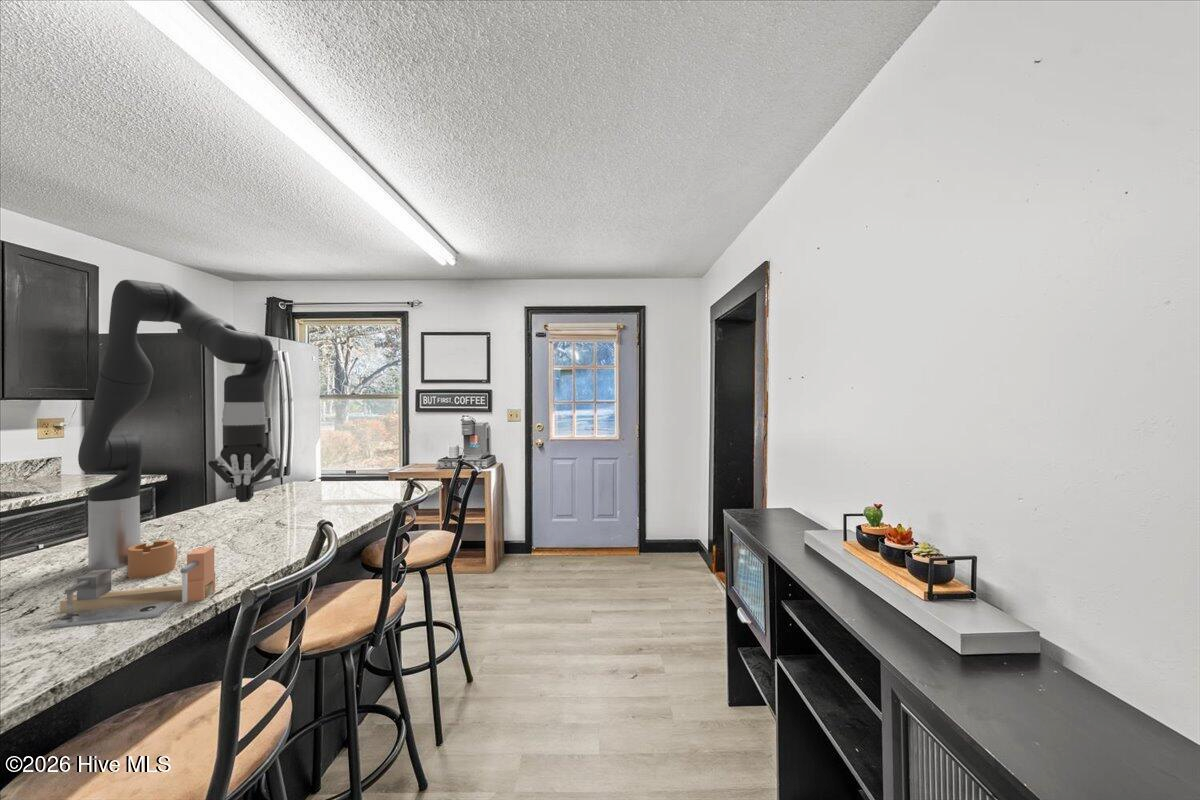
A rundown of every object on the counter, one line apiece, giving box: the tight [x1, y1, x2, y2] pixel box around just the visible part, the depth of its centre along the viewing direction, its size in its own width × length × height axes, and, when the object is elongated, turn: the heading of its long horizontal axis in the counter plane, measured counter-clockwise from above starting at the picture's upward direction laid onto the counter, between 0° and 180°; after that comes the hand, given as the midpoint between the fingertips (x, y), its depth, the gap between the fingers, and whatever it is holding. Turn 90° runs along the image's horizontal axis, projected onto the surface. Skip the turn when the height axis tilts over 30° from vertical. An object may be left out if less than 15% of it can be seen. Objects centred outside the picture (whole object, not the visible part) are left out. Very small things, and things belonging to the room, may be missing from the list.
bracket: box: [127, 539, 178, 579], centre depth 119 cm, size 18×8×7 cm, turn 39°
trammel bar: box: [59, 569, 214, 616], centre depth 96 cm, size 9×24×7 cm, turn 107°
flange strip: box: [49, 601, 176, 629], centre depth 92 cm, size 6×16×1 cm, turn 107°
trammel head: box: [180, 546, 216, 604], centre depth 100 cm, size 10×3×10 cm, turn 17°
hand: (244, 501), depth 104 cm, fingers closed
